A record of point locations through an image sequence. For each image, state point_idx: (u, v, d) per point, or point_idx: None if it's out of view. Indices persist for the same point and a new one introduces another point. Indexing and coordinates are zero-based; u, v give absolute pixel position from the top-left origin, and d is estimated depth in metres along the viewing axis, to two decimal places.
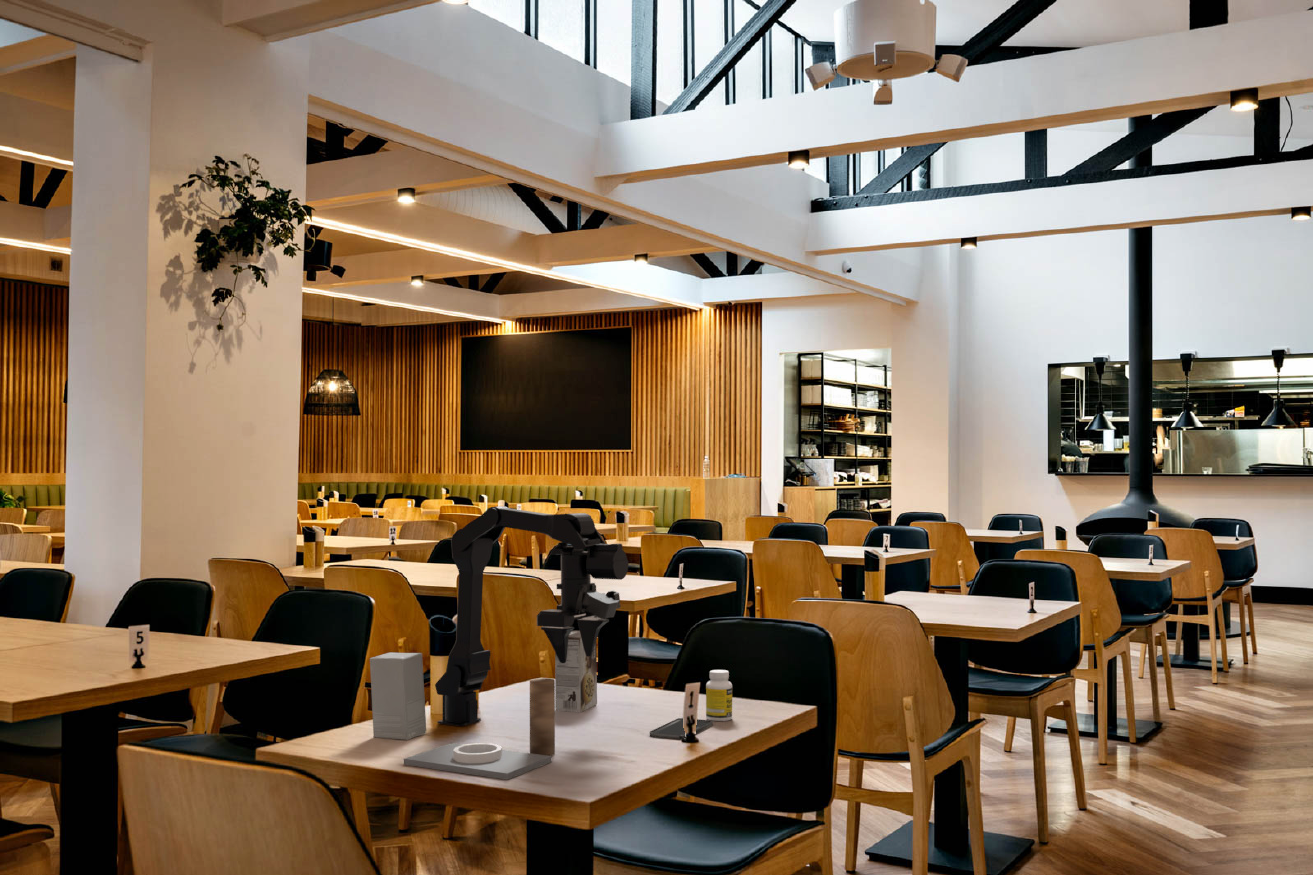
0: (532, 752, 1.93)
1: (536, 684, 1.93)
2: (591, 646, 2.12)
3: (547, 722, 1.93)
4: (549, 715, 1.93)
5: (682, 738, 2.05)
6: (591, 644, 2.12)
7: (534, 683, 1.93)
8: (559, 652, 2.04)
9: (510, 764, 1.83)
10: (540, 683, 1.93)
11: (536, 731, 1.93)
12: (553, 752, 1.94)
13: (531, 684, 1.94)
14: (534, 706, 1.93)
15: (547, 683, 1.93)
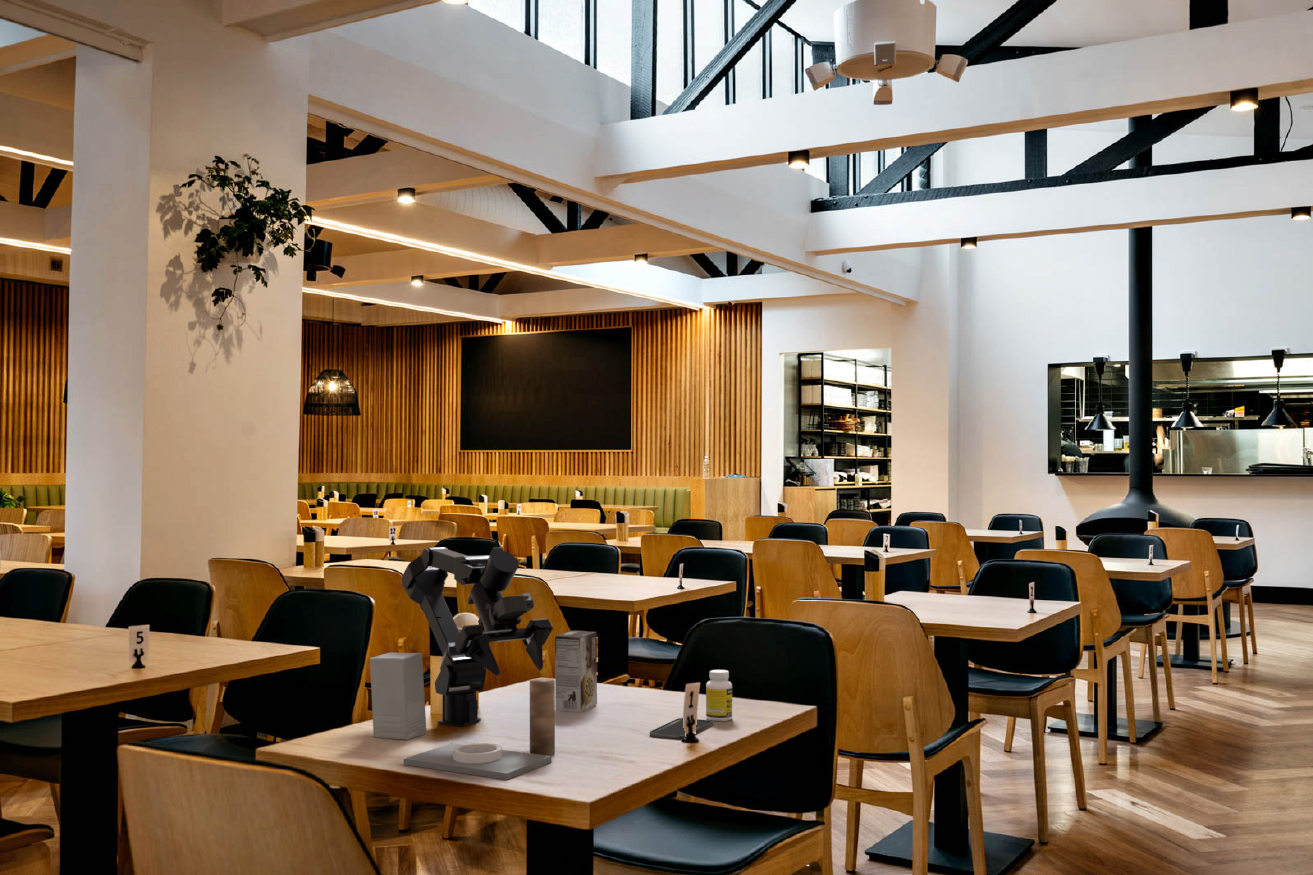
0: (532, 752, 1.93)
1: (536, 684, 1.93)
2: (538, 658, 2.05)
3: (547, 722, 1.93)
4: (549, 715, 1.93)
5: (682, 738, 2.05)
6: (537, 656, 2.06)
7: (534, 683, 1.93)
8: (490, 666, 2.00)
9: (510, 764, 1.83)
10: (540, 683, 1.93)
11: (536, 731, 1.93)
12: (553, 752, 1.94)
13: (531, 684, 1.94)
14: (534, 706, 1.93)
15: (547, 683, 1.93)
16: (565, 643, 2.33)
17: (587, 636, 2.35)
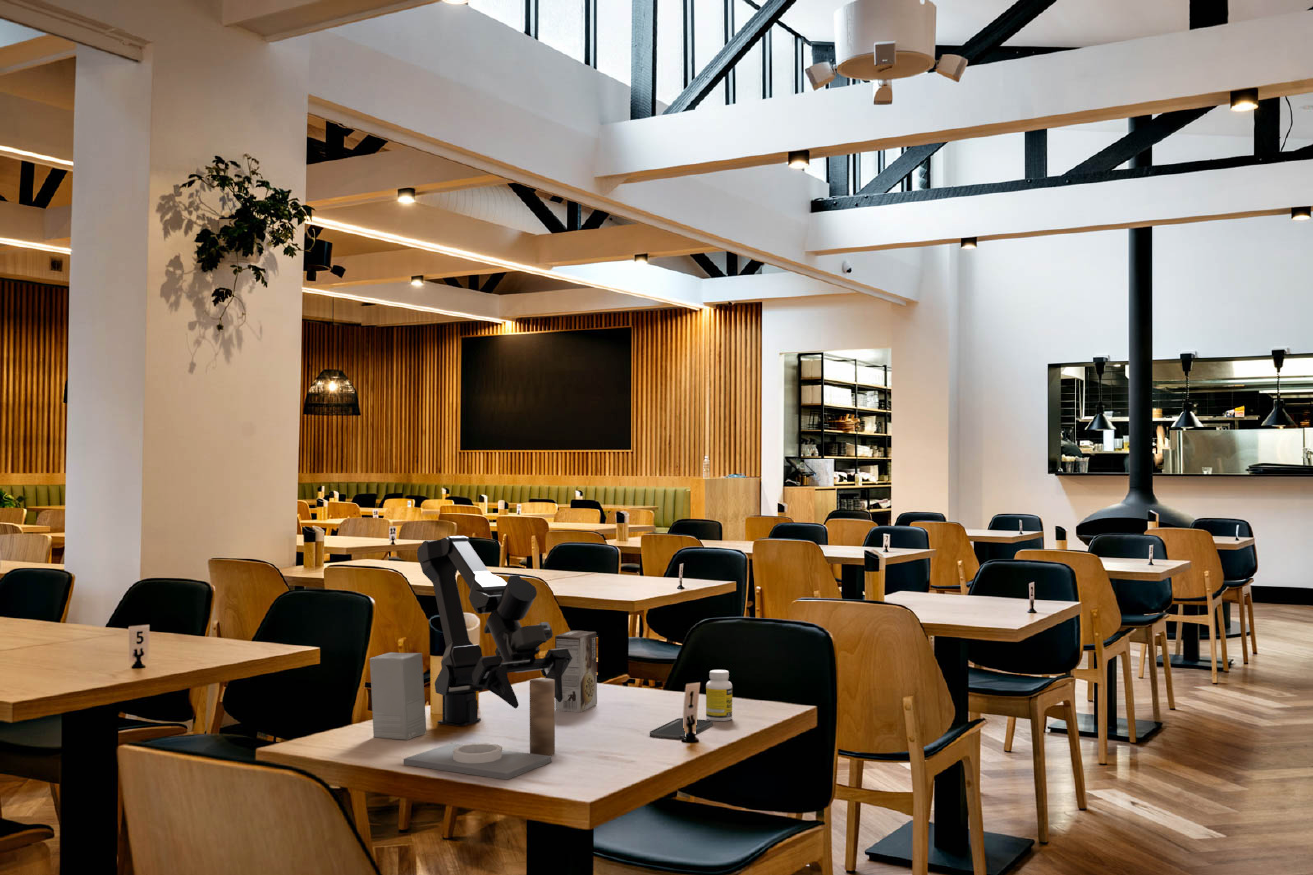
0: (532, 752, 1.93)
1: (536, 684, 1.93)
2: (557, 689, 1.99)
3: (547, 722, 1.93)
4: (549, 715, 1.93)
5: (682, 738, 2.05)
6: (557, 688, 2.00)
7: (534, 683, 1.93)
8: (508, 699, 1.94)
9: (510, 764, 1.83)
10: (540, 683, 1.93)
11: (536, 731, 1.93)
12: (553, 752, 1.94)
13: (531, 684, 1.94)
14: (534, 706, 1.93)
15: (547, 683, 1.93)
16: (565, 643, 2.33)
17: (587, 636, 2.35)
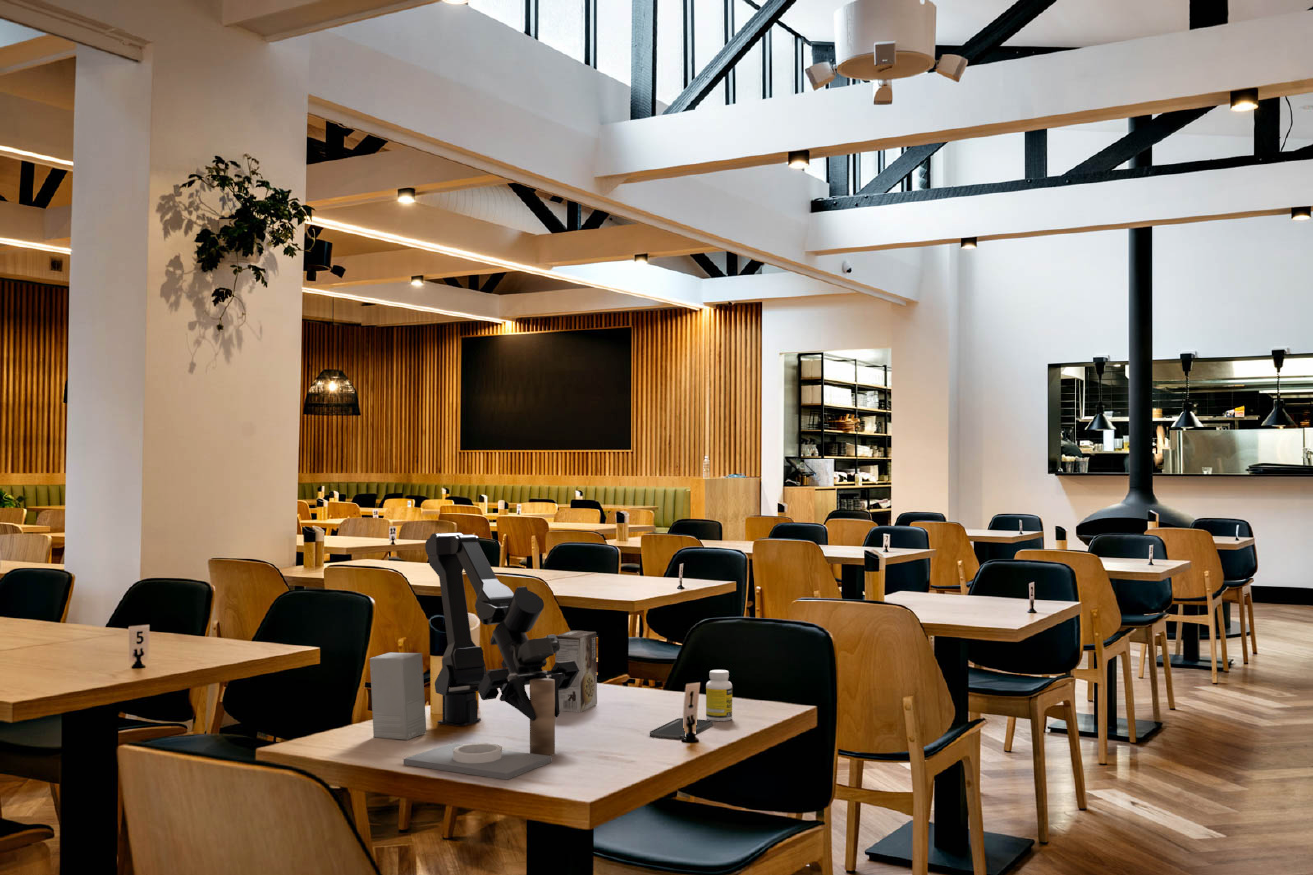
0: (532, 752, 1.93)
1: (536, 684, 1.93)
2: None
3: (547, 722, 1.93)
4: (549, 715, 1.93)
5: (682, 738, 2.05)
6: None
7: (534, 683, 1.93)
8: (526, 711, 1.93)
9: (510, 764, 1.83)
10: (540, 683, 1.93)
11: (536, 731, 1.93)
12: (553, 752, 1.94)
13: (531, 684, 1.94)
14: (534, 706, 1.93)
15: (547, 683, 1.93)
16: (565, 643, 2.33)
17: (587, 636, 2.35)
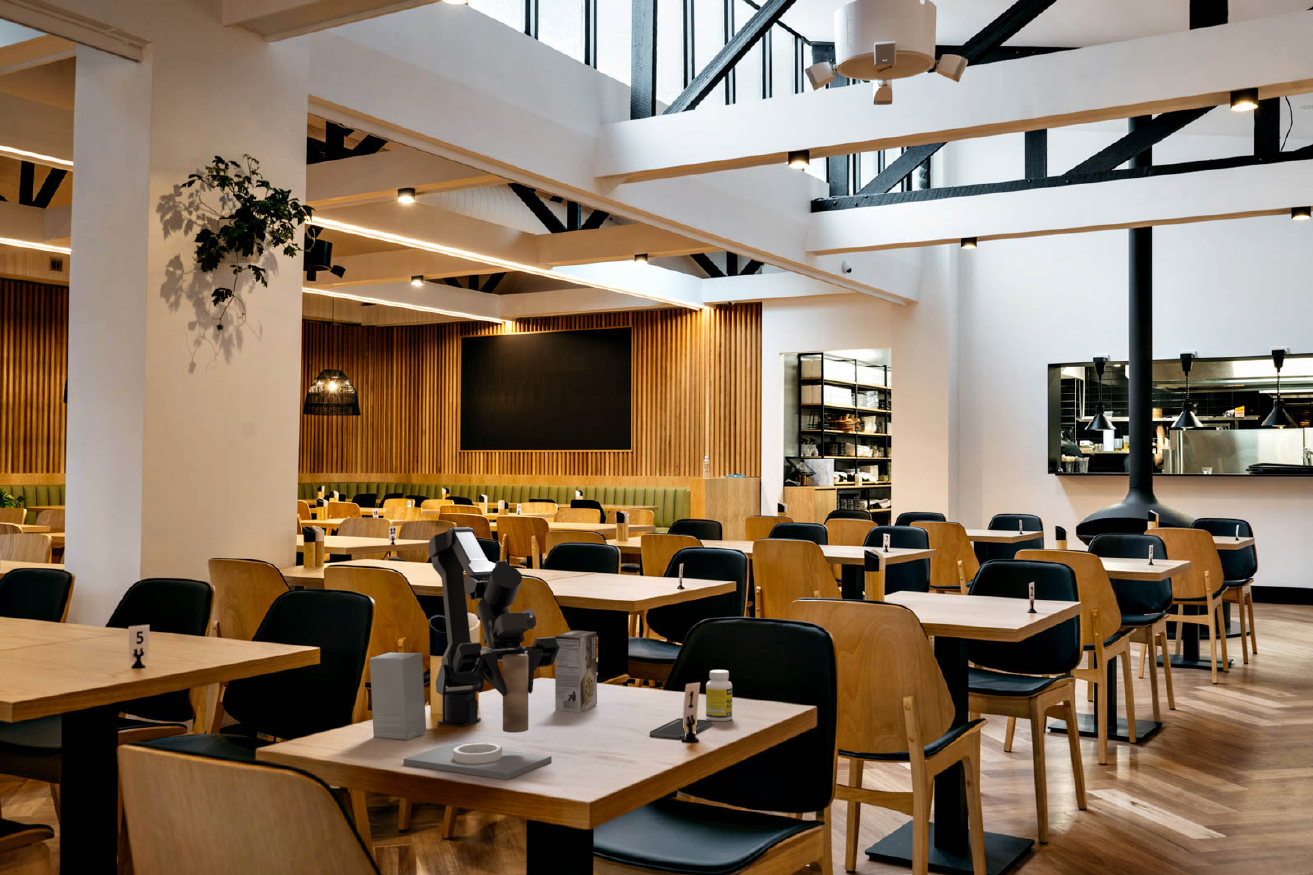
0: (504, 728, 1.90)
1: (507, 659, 1.90)
2: (528, 680, 1.92)
3: (518, 698, 1.90)
4: (521, 691, 1.90)
5: (682, 738, 2.05)
6: (528, 678, 1.93)
7: (505, 658, 1.90)
8: (497, 686, 1.90)
9: (510, 764, 1.83)
10: (511, 658, 1.90)
11: (507, 707, 1.90)
12: (525, 729, 1.90)
13: (503, 659, 1.91)
14: (505, 681, 1.90)
15: (518, 658, 1.90)
16: (565, 643, 2.33)
17: (587, 636, 2.35)
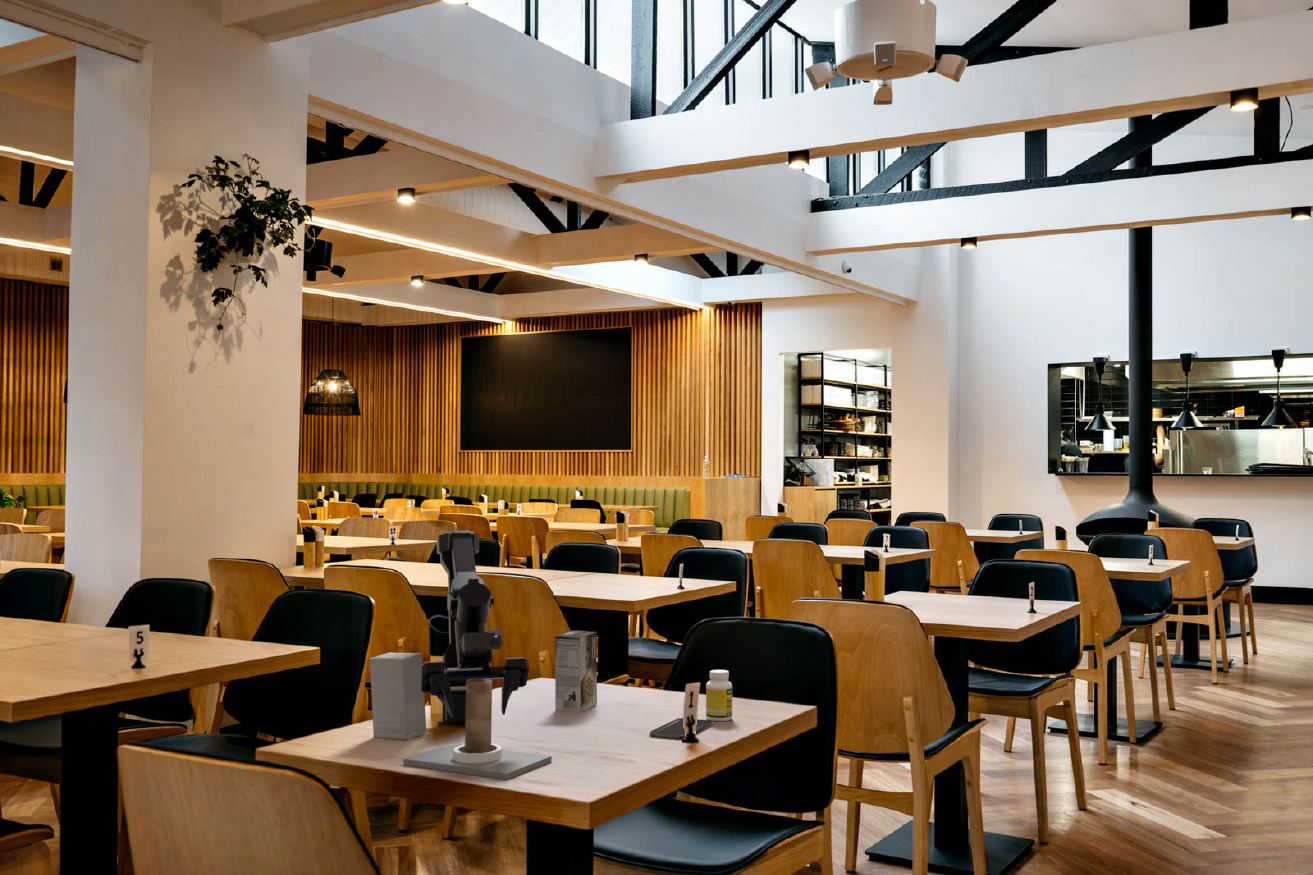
0: None
1: (468, 684, 1.87)
2: None
3: (478, 725, 1.86)
4: (481, 718, 1.86)
5: (682, 738, 2.05)
6: (502, 699, 1.89)
7: (467, 683, 1.87)
8: (447, 707, 1.87)
9: (510, 764, 1.83)
10: (472, 683, 1.87)
11: (468, 733, 1.86)
12: None
13: (466, 684, 1.88)
14: (466, 706, 1.87)
15: (479, 684, 1.87)
16: (565, 643, 2.33)
17: (587, 636, 2.35)
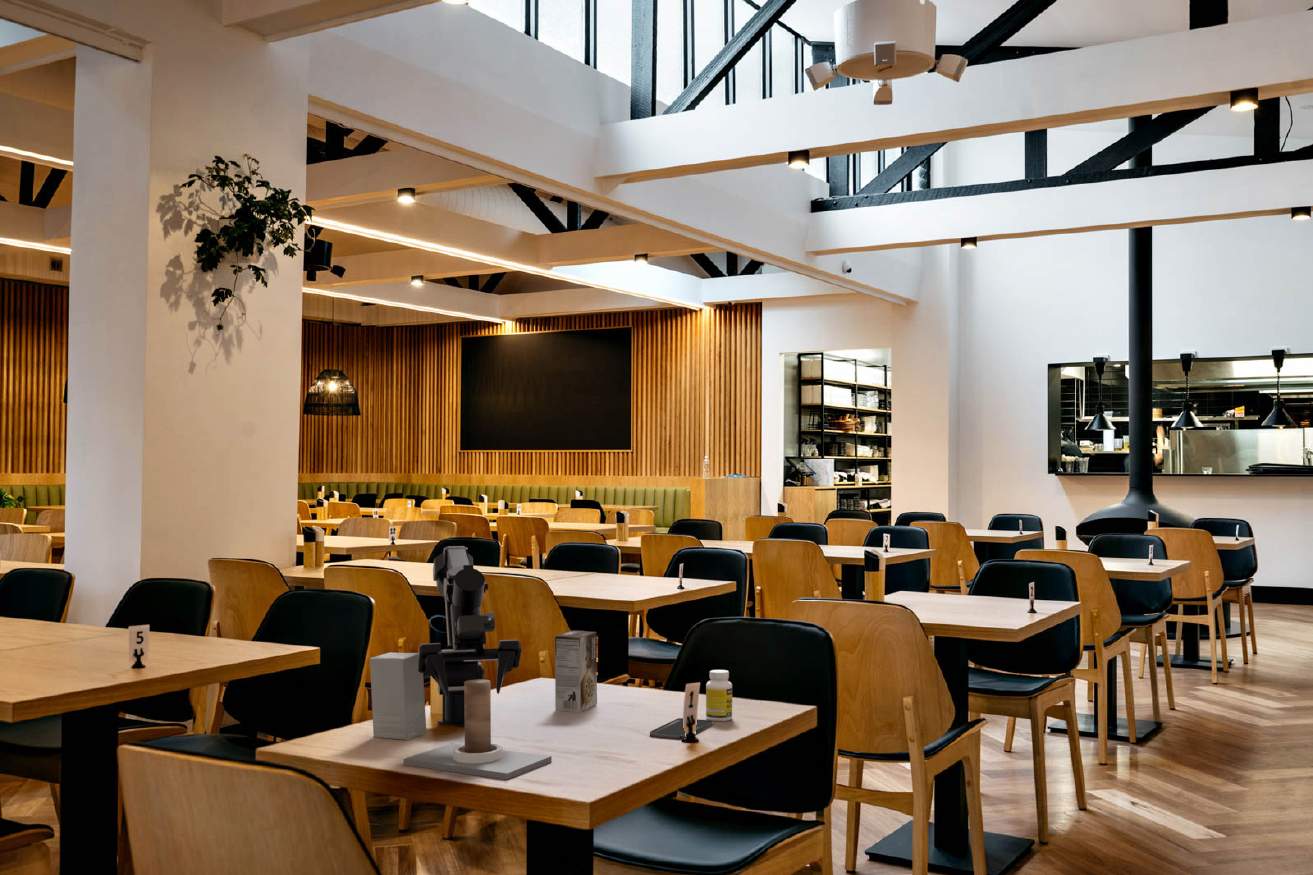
0: None
1: (467, 685, 1.87)
2: (497, 681, 1.98)
3: (478, 726, 1.86)
4: (480, 718, 1.86)
5: (682, 738, 2.05)
6: (497, 679, 1.99)
7: (465, 684, 1.87)
8: (442, 686, 1.96)
9: (510, 764, 1.83)
10: (470, 684, 1.87)
11: (467, 734, 1.86)
12: None
13: (464, 685, 1.88)
14: (465, 707, 1.87)
15: (477, 685, 1.86)
16: (565, 643, 2.33)
17: (587, 636, 2.35)
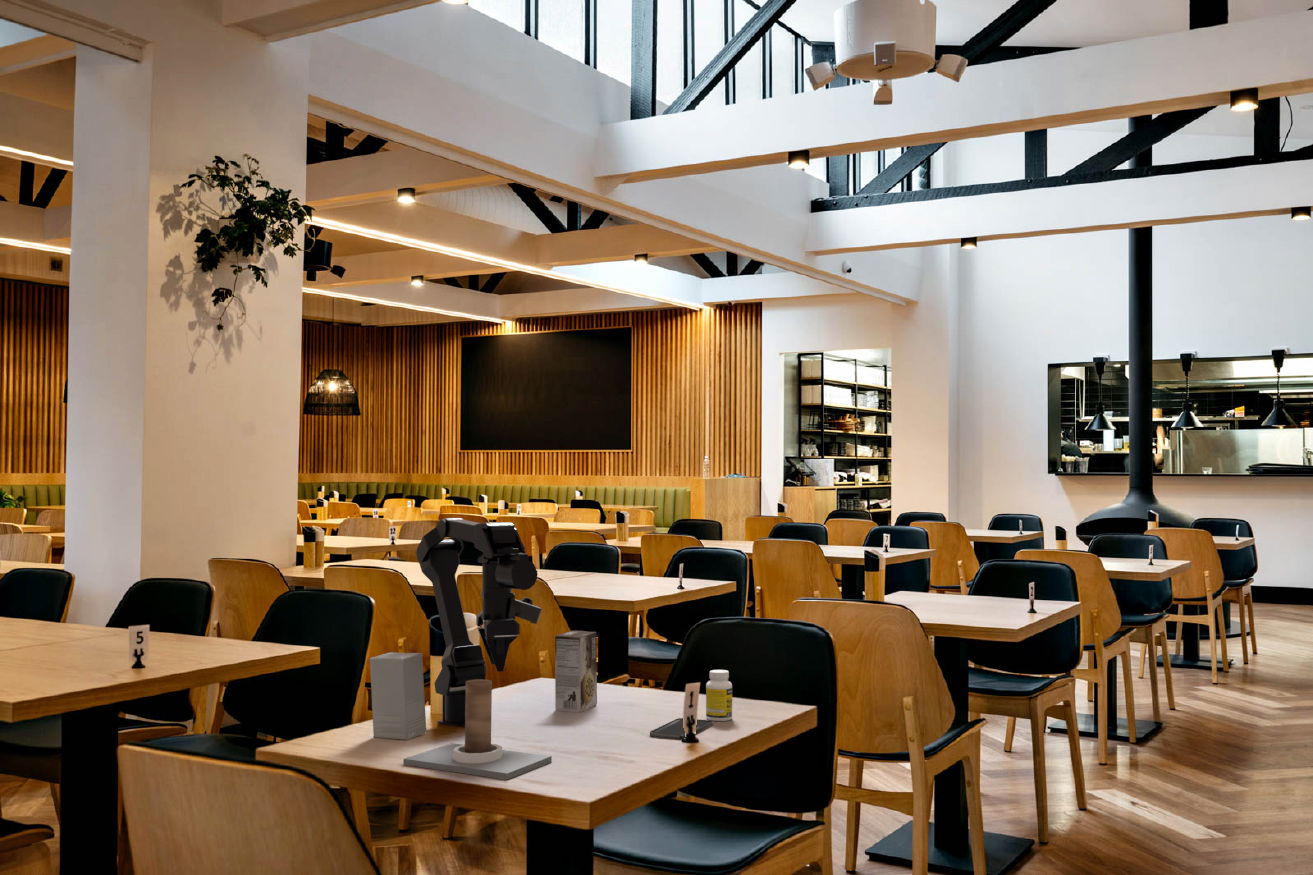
0: None
1: (468, 685, 1.87)
2: None
3: (478, 726, 1.86)
4: (481, 718, 1.86)
5: (682, 738, 2.05)
6: None
7: (467, 684, 1.87)
8: (499, 661, 2.05)
9: (510, 764, 1.83)
10: (472, 684, 1.86)
11: (467, 733, 1.86)
12: None
13: None
14: (466, 707, 1.87)
15: (479, 685, 1.86)
16: (565, 643, 2.33)
17: (587, 636, 2.35)
